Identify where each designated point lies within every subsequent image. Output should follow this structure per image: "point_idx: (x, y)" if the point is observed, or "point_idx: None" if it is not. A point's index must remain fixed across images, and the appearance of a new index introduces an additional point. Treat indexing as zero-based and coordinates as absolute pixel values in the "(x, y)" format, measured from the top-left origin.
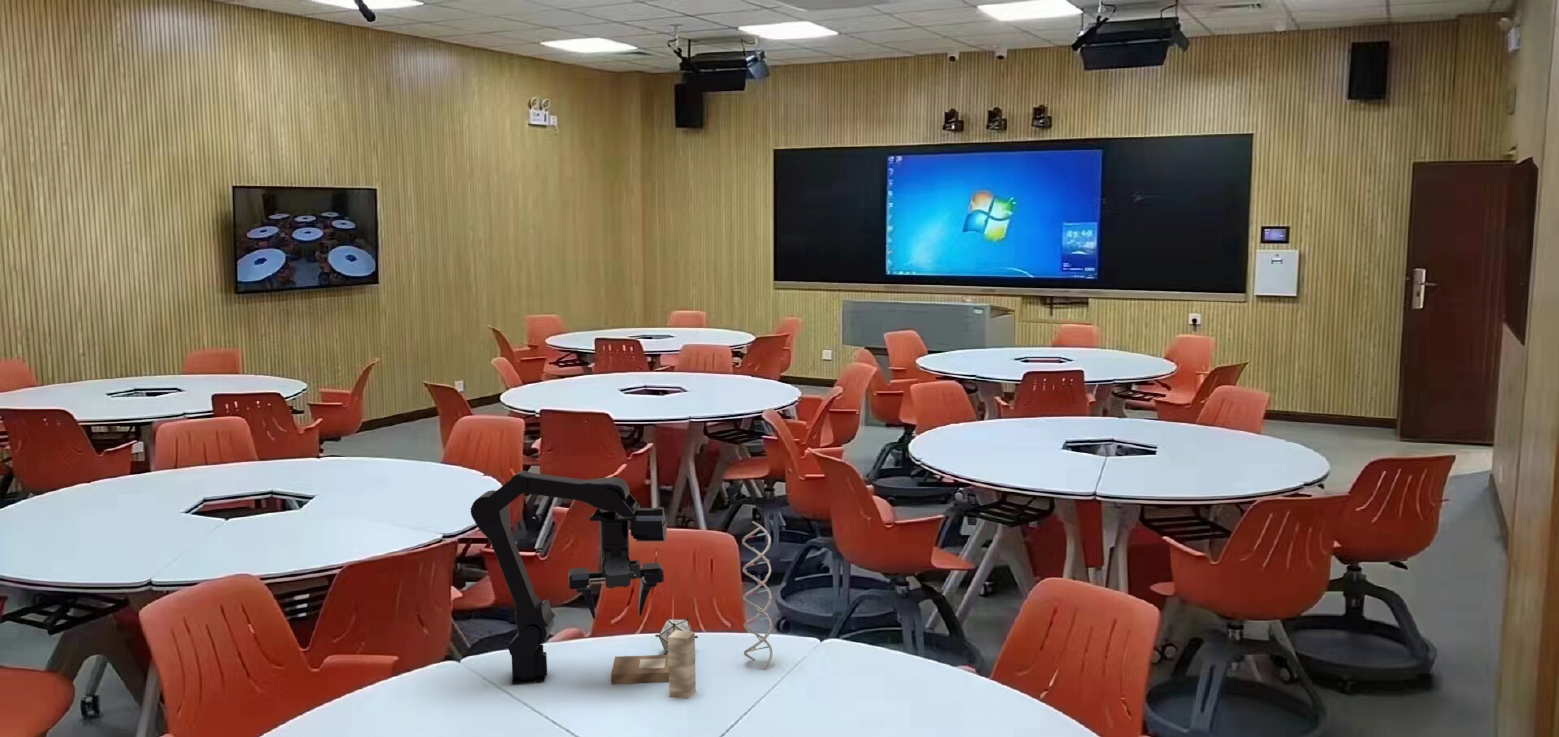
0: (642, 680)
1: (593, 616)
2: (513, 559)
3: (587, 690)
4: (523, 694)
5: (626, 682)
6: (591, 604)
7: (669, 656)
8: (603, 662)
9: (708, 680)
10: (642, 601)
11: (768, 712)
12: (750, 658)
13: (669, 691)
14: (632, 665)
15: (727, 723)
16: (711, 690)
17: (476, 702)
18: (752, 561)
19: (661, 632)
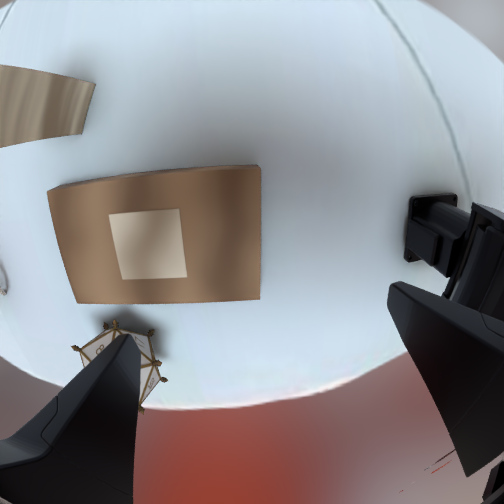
0: (168, 170)
1: (407, 286)
2: None
3: (317, 127)
4: (439, 137)
5: (214, 166)
6: (467, 321)
7: (29, 69)
8: (286, 304)
9: (32, 192)
10: (74, 392)
11: None
12: (3, 290)
13: (89, 82)
14: (202, 237)
15: (18, 2)
16: None
17: (486, 125)
18: None
19: (147, 370)
